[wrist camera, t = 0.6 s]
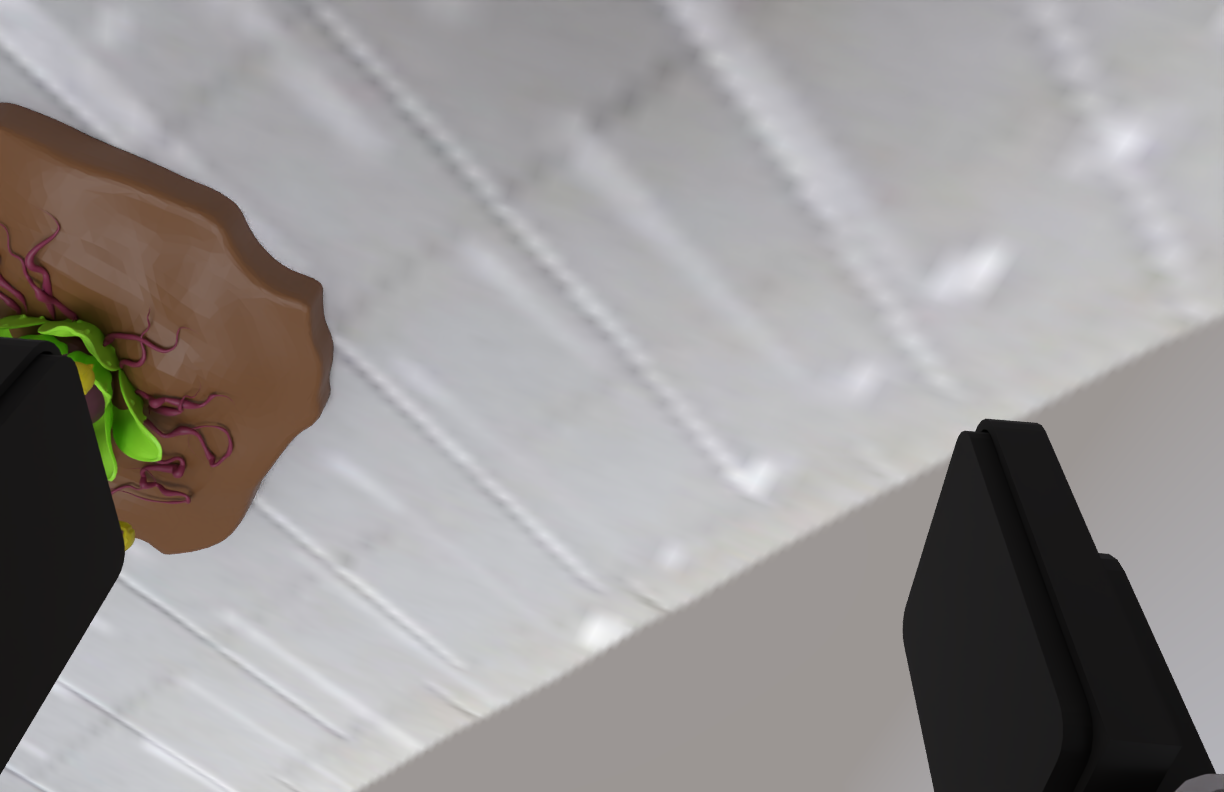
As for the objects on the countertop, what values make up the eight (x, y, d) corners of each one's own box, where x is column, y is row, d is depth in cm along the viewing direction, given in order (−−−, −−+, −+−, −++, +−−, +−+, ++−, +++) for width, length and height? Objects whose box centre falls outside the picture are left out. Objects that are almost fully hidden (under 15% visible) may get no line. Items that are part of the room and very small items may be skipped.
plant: (-60, 7, 40) (-283, 123, 31) (401, 302, 46) (330, 472, 37) (-196, 362, 50) (-395, 530, 40) (199, 566, 56) (104, 752, 47)
